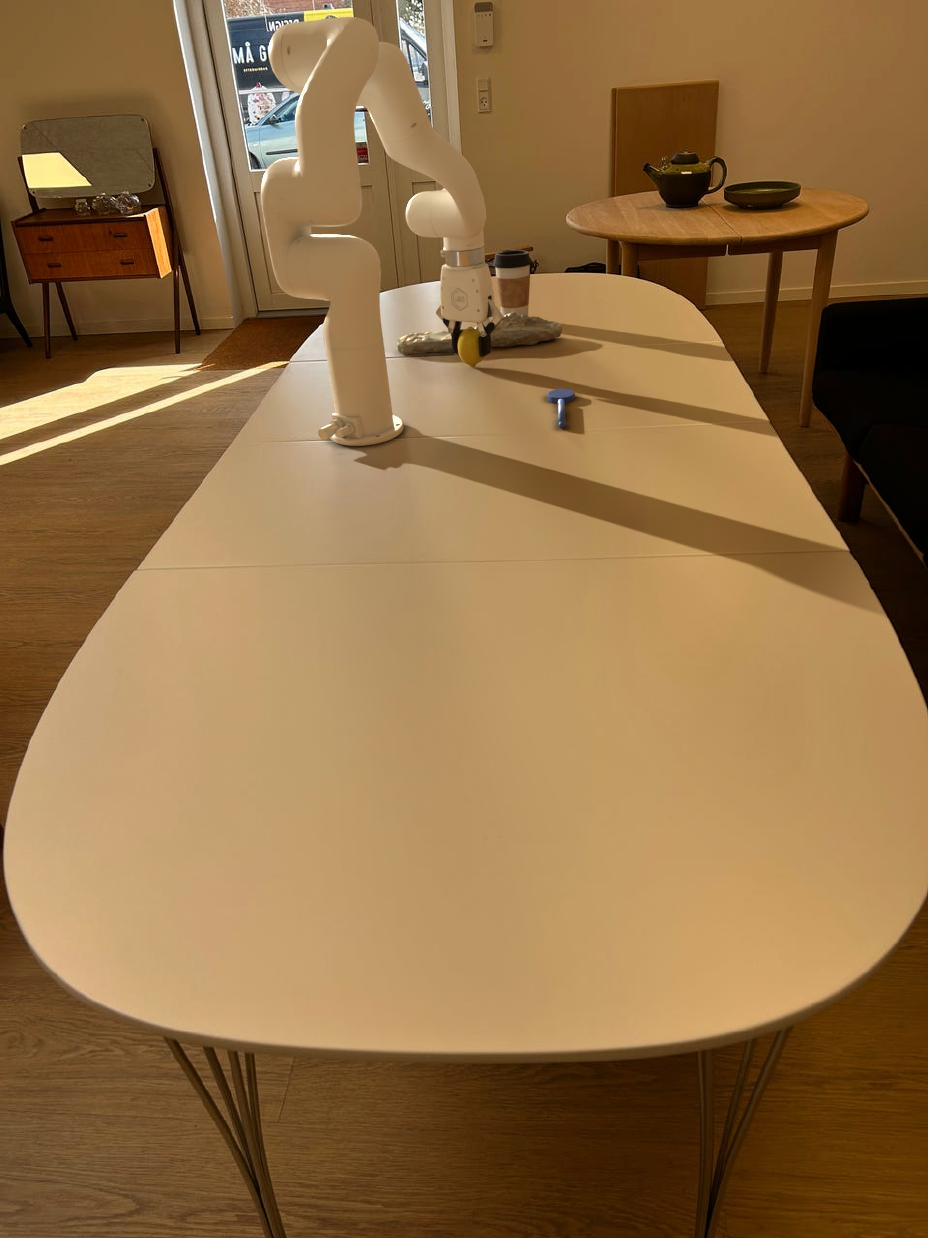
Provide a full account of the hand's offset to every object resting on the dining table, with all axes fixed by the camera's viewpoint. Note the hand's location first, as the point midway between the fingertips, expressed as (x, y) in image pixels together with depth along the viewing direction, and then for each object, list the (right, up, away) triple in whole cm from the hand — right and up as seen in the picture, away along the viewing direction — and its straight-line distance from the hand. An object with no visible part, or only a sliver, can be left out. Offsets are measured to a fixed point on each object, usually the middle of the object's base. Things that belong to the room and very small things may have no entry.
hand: (472, 352), depth 184 cm
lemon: (0, -3, +2) cm, 3 cm away
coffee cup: (+10, +15, +28) cm, 34 cm away
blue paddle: (+15, -17, -23) cm, 33 cm away
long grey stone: (+2, +5, +14) cm, 15 cm away
